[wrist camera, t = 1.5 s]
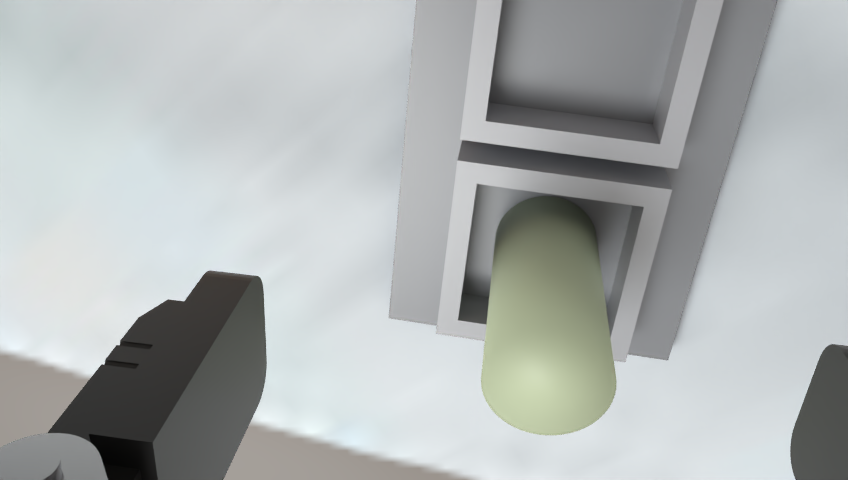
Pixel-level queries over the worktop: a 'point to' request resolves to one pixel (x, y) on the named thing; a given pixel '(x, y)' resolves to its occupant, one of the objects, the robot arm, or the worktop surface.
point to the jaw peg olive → (547, 321)
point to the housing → (570, 146)
